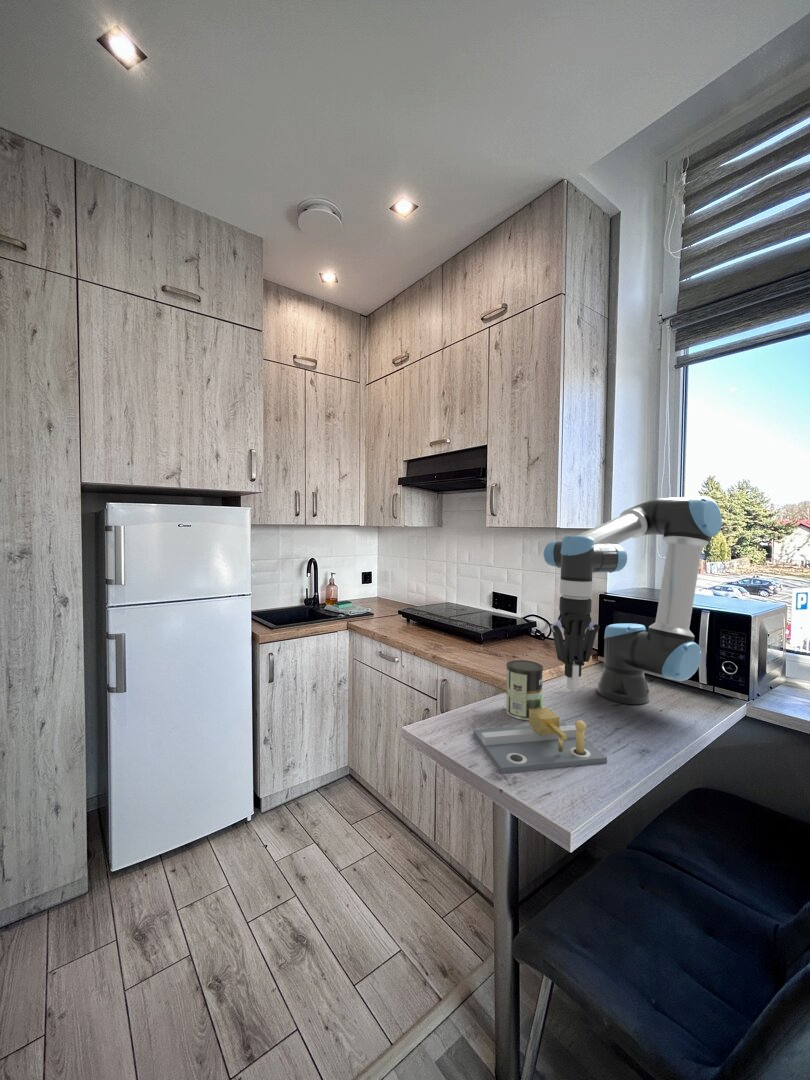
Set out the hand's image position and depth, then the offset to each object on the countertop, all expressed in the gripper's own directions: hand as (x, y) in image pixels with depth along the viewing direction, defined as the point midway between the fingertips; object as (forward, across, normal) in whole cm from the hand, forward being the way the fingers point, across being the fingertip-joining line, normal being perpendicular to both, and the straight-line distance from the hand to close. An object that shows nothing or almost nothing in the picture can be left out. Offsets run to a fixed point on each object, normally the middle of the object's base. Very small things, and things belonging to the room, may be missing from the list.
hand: (572, 689), depth 109 cm
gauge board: (+13, +10, +2) cm, 17 cm away
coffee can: (+13, +4, -17) cm, 22 cm away
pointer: (+11, +8, +3) cm, 14 cm away
